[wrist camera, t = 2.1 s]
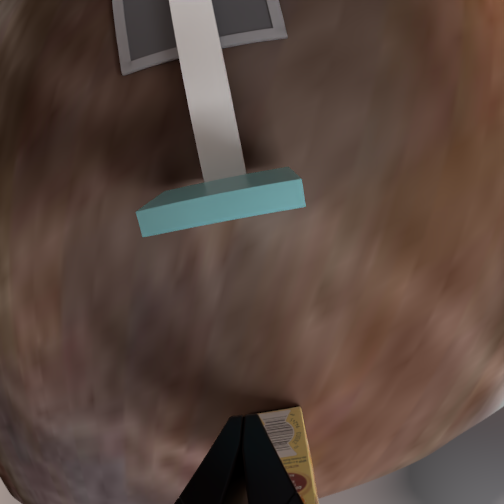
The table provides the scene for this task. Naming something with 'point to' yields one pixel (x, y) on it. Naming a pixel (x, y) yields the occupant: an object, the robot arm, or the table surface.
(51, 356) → the table surface
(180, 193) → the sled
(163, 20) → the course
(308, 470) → the candy box
